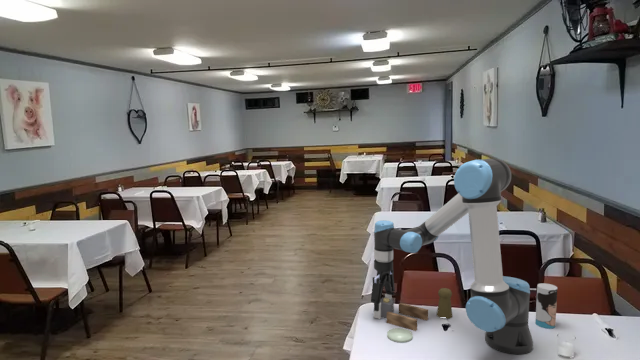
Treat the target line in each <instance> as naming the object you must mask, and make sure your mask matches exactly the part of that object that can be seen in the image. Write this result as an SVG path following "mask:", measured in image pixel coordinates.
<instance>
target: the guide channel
mask: <svg viewBox="0 0 640 360" xmlns="http://www.w3.org/2000/svg"><path fill="white" fill-rule="evenodd" d="M418 319H419V320H423V321H428V320H429V309H427V308H423V307H420V306H415V305H411V304H408V303H403V302H399V303H398V313H395V312H393V313H392V312H387V319H386V324H389V325H393V326H396V327H398V328H403V329H407V330H409V331H414V332H416V331H417V330H418Z"/></svg>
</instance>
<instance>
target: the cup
mask: <svg viewBox="0 0 640 360" xmlns="http://www.w3.org/2000/svg"><path fill="white" fill-rule="evenodd" d="M557 303H558V286H557V285H555V284H550V283H537V286H536V307H535V322H534V323H535V325H537V326H538V327H540V328H542V329H550V330H551V329H555V328H556V323H557V322H556V321H557Z"/></svg>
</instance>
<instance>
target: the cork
mask: <svg viewBox="0 0 640 360" xmlns="http://www.w3.org/2000/svg"><path fill="white" fill-rule="evenodd" d="M437 294H438V297H439V299H438V304H437V309H436V310H437V312H436V317H438V318H440V317H446V318H447V319H446V320H449V319H452V318H453V310H452V301H451V298H452V295H453V292H452V290H451V289H449V288H448V287H447V288H446V287H441V288H439V290H438V293H437Z"/></svg>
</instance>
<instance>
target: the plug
mask: <svg viewBox="0 0 640 360" xmlns="http://www.w3.org/2000/svg"><path fill="white" fill-rule="evenodd" d="M394 302H395V301H394V299H392V300H390V299H389V298H385V297H383V298H382V297H381V299H380V303H381V319H386V320H387V312H392V313H395V312H394Z"/></svg>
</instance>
